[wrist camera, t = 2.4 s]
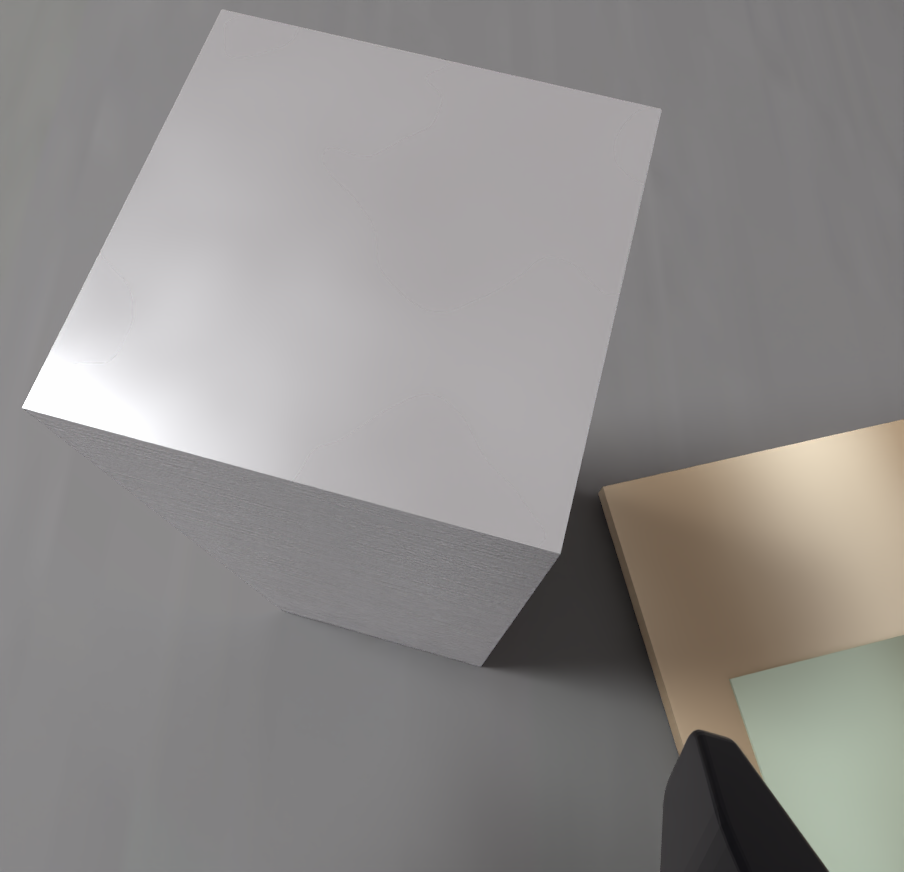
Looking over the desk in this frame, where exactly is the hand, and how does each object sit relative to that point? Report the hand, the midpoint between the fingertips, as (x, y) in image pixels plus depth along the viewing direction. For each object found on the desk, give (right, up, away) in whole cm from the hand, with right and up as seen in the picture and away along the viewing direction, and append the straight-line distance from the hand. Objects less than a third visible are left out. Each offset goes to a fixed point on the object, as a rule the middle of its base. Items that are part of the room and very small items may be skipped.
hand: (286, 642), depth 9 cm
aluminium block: (+1, 0, +11) cm, 11 cm away
